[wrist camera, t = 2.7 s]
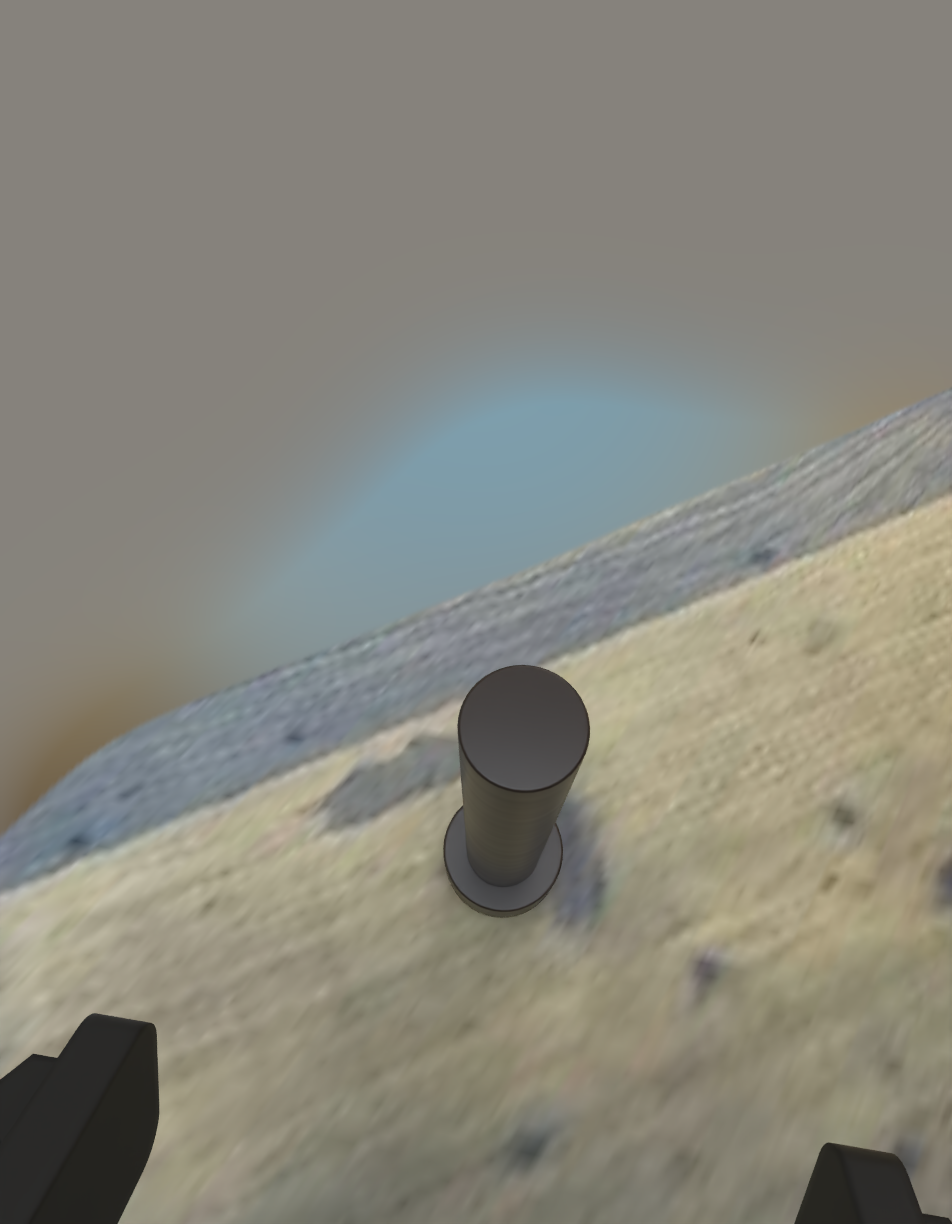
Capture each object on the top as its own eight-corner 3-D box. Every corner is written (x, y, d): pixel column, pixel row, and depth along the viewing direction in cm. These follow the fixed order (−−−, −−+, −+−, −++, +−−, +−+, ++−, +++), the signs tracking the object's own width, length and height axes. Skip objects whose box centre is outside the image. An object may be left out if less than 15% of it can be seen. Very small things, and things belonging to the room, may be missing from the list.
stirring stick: (563, 811, 29) (640, 641, 15) (550, 926, 27) (622, 853, 14) (455, 795, 29) (435, 612, 15) (436, 908, 28) (396, 818, 14)
